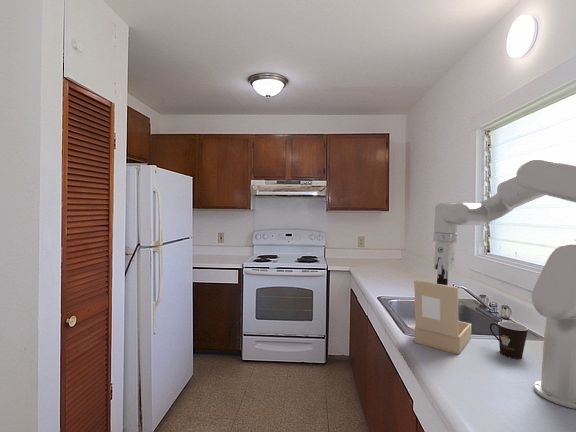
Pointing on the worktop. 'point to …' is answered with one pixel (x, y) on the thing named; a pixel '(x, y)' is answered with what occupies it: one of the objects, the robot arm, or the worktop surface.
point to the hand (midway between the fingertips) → (441, 288)
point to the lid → (436, 307)
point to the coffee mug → (511, 338)
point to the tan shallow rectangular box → (445, 338)
